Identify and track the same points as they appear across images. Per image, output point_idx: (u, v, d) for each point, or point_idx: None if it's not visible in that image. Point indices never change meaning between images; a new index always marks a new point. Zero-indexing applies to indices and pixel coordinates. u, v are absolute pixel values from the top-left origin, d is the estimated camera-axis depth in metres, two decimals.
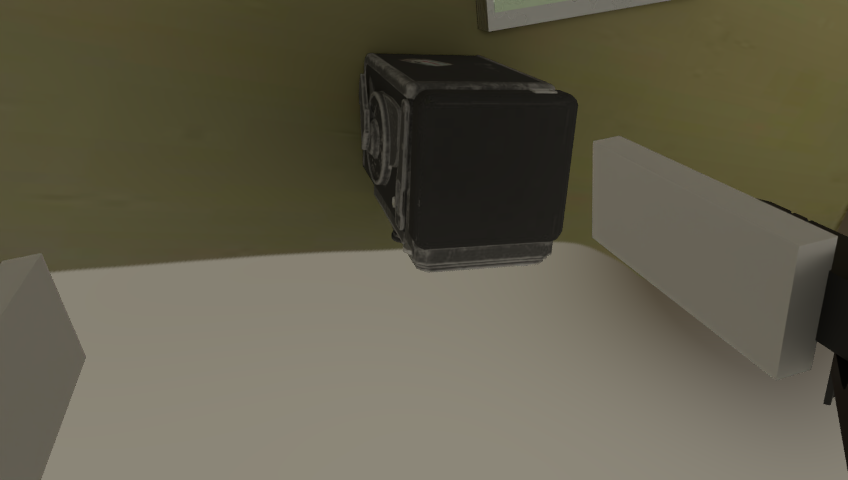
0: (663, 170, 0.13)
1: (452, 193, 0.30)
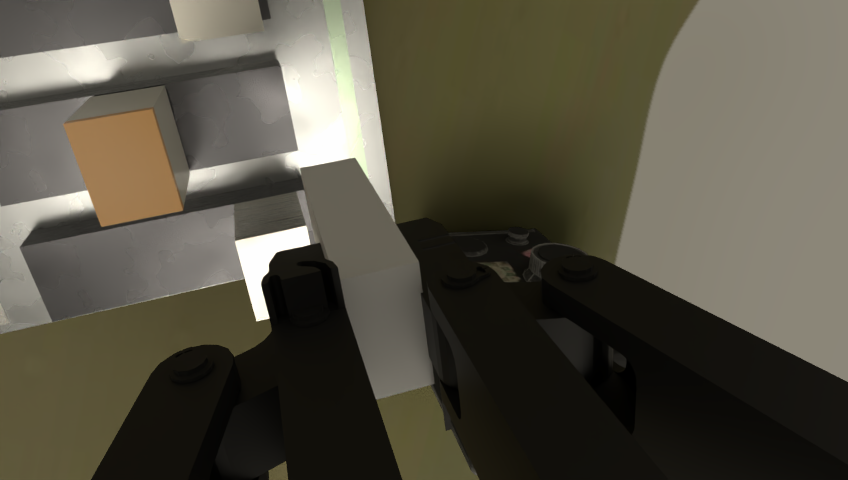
0: (352, 193, 0.14)
1: None
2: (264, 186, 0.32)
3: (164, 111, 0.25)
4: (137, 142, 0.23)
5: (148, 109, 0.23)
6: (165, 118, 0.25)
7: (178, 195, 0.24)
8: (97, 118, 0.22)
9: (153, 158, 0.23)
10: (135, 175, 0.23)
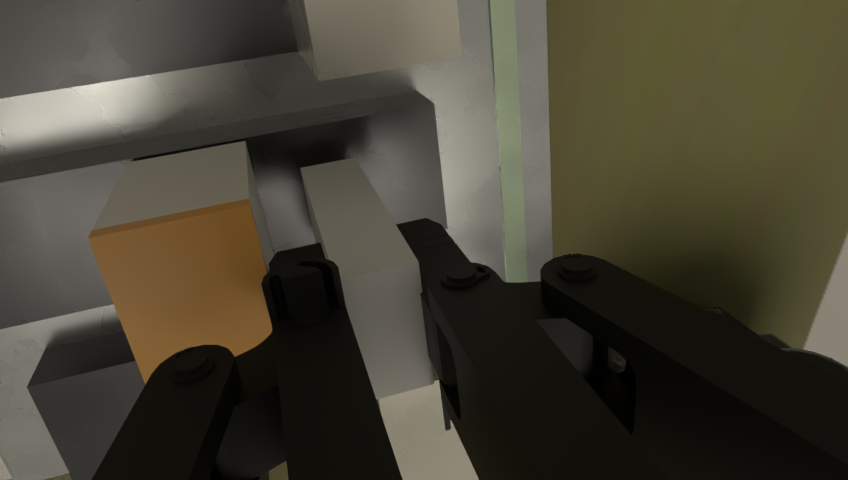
0: (351, 193, 0.14)
1: None
2: None
3: (253, 191, 0.15)
4: (220, 263, 0.13)
5: (242, 205, 0.12)
6: (256, 204, 0.15)
7: None
8: (151, 225, 0.12)
9: (247, 288, 0.13)
10: (215, 317, 0.13)
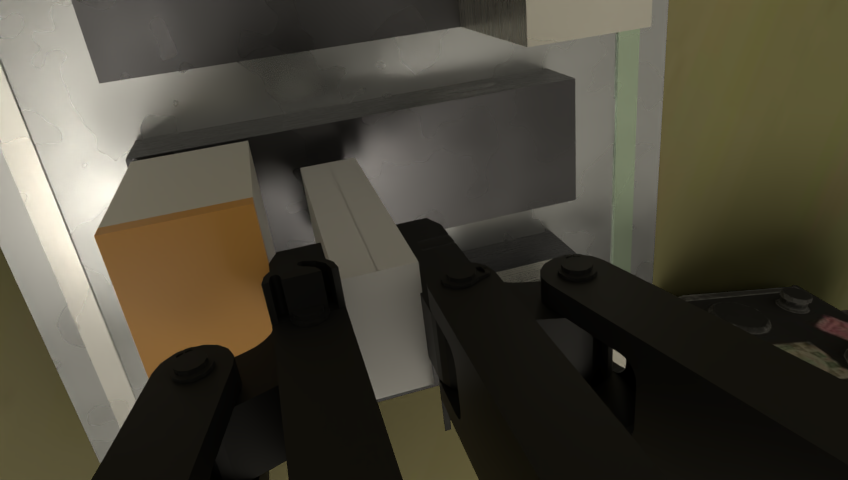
0: (351, 193, 0.14)
1: None
2: (503, 244, 0.23)
3: (256, 190, 0.15)
4: (224, 260, 0.13)
5: (246, 203, 0.13)
6: (259, 203, 0.15)
7: None
8: (156, 223, 0.12)
9: (251, 285, 0.13)
10: (218, 314, 0.13)
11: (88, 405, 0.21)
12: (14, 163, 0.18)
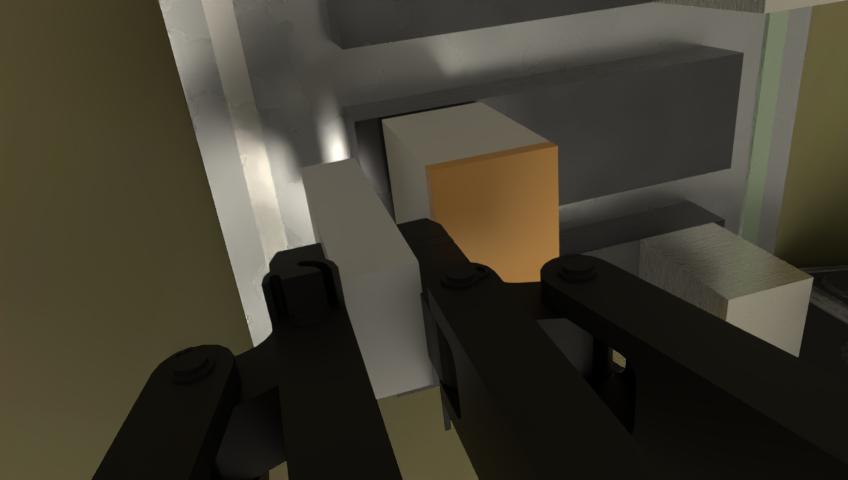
0: (351, 193, 0.14)
1: None
2: (649, 213, 0.24)
3: None
4: (525, 198, 0.14)
5: (549, 146, 0.14)
6: None
7: None
8: (478, 161, 0.14)
9: (541, 221, 0.15)
10: (510, 248, 0.15)
11: None
12: (237, 127, 0.19)
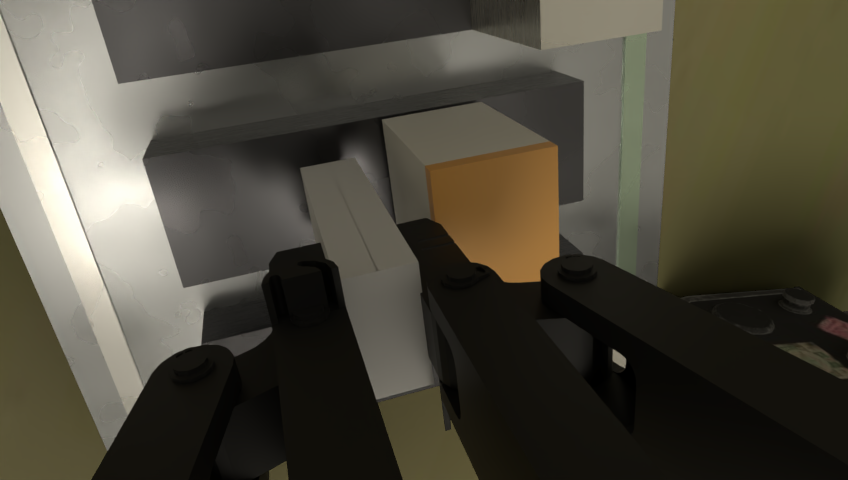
0: (351, 193, 0.14)
1: None
2: None
3: None
4: (525, 197, 0.14)
5: (549, 145, 0.14)
6: None
7: None
8: (478, 161, 0.14)
9: (541, 221, 0.15)
10: (510, 248, 0.15)
11: (100, 402, 0.21)
12: (31, 162, 0.18)
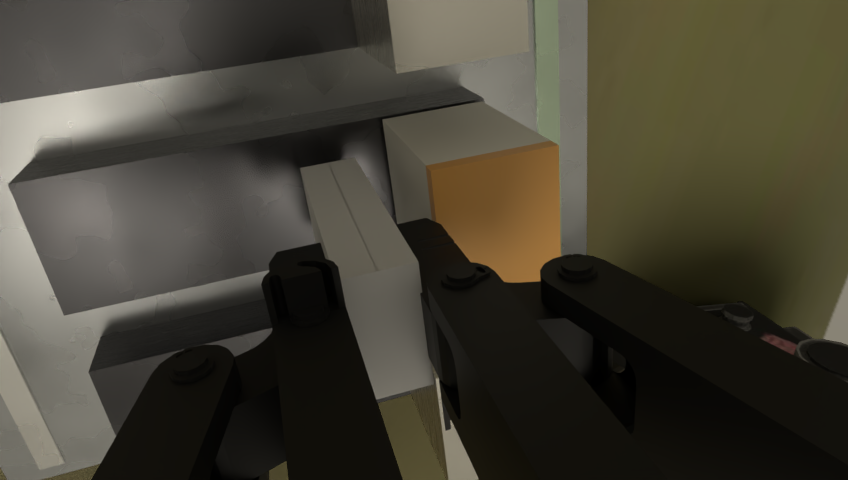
0: (351, 193, 0.14)
1: None
2: None
3: None
4: (526, 197, 0.14)
5: (550, 145, 0.14)
6: None
7: None
8: (479, 161, 0.14)
9: (542, 221, 0.15)
10: (512, 247, 0.15)
11: None
12: None
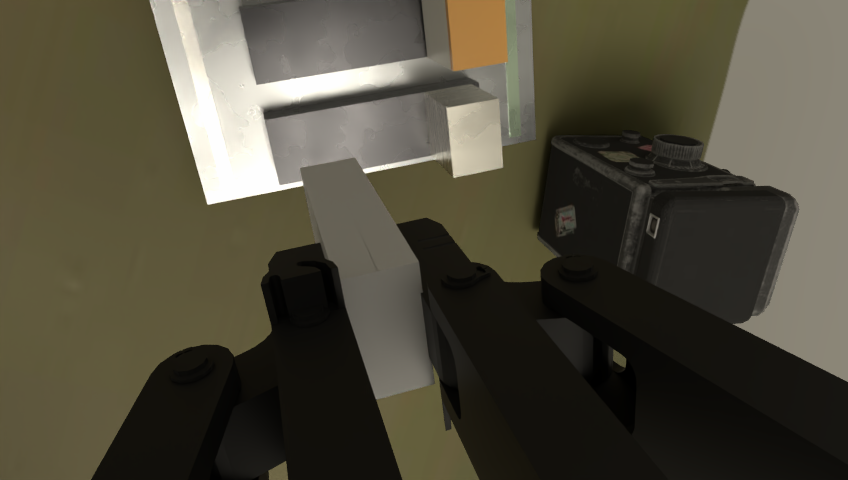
0: (352, 193, 0.14)
1: (716, 301, 0.36)
2: (439, 82, 0.39)
3: None
4: (489, 5, 0.31)
5: None
6: None
7: (506, 49, 0.32)
8: None
9: (497, 18, 0.32)
10: (483, 31, 0.32)
11: (204, 165, 0.38)
12: (178, 16, 0.34)
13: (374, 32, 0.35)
